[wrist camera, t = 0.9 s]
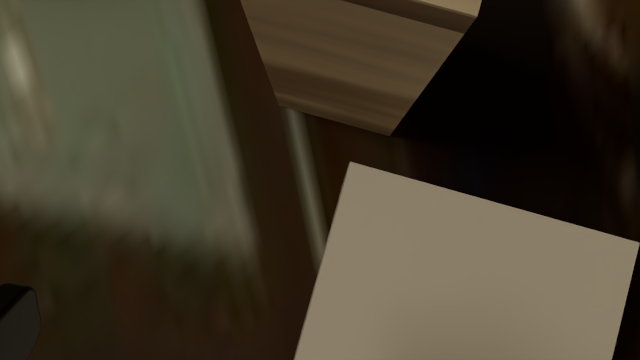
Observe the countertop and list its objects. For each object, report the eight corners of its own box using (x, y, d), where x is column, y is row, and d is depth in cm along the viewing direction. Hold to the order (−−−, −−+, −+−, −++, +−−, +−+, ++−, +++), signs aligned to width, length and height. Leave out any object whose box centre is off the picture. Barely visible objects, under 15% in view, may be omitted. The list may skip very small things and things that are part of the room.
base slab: (533, 500, 22) (567, 545, 19) (275, 424, 22) (267, 456, 19) (597, 240, 22) (639, 242, 19) (346, 170, 23) (350, 161, 20)
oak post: (389, 136, 23) (477, 16, 10) (279, 105, 23) (221, -54, 10) (419, 28, 23) (542, -227, 10) (310, -2, 23) (293, -291, 10)
